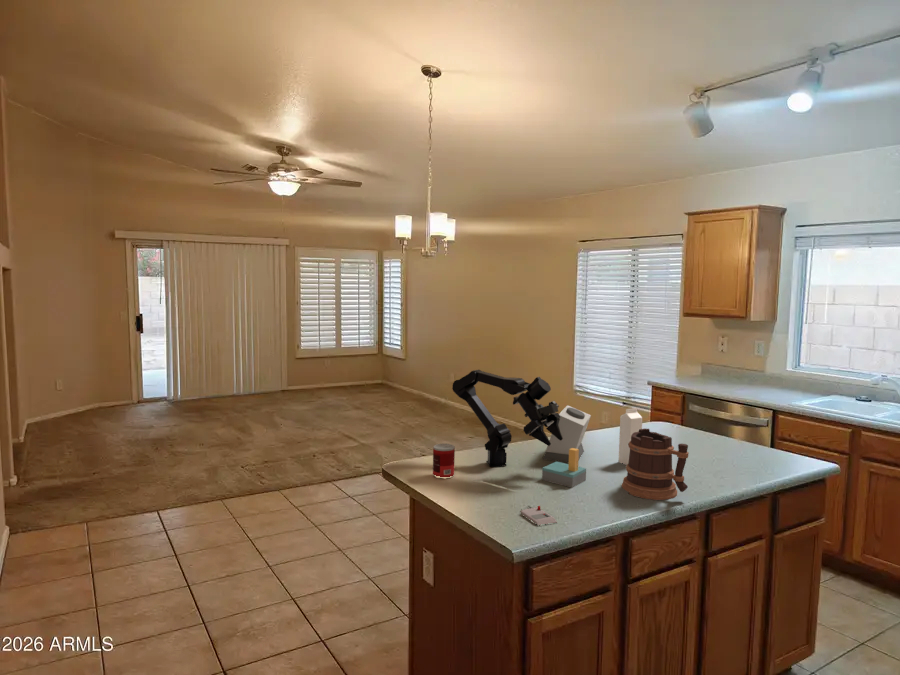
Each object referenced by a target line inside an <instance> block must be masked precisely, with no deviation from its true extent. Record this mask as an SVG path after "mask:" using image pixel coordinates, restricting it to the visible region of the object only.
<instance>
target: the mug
mask: <svg viewBox="0 0 900 675" xmlns="http://www.w3.org/2000/svg"><path fill="white" fill-rule="evenodd" d="M628 446H629V448H630V453H629V463H628V464H627V465H625V470H626V471H627V474H626V476H624V477H623V480H622V483H621V487H622V489H623V490H624V491H626V492H627V493H628V495H630V496H634V497H636V498H641V499H647V500H657V501H659V500H660V501H661V500H670V499H674V498H676V497H677V496H678V490H679V492H681V493H683V492H684V491H686V490H687V489H688V485H687V484H686V483H685V482H684V481H685V476H684V475H683V474H684V473H683V472H684V469H685V466H686V463H687V459H688V458H689V454H690V453H689V451H688V450H689V449H688V448H689V445H688V444H686V443H678V445H677V448H678V450H676V449H675V447H674V446H673V437H671V436H668V435H666V434H662V433H659V432H656V431H655V432H654V431H651V430H650V428H642V429H639V432H634V433H633V434H632V435H631V441H630V442H629V443H628ZM673 455H675V456H676V457H677V460H676V461H677V462H676V466H675V470H674V469H673ZM677 488H678V490H677Z"/></svg>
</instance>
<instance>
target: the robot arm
mask: <svg viewBox="0 0 900 675" xmlns="http://www.w3.org/2000/svg"><path fill="white" fill-rule="evenodd" d="M478 383H483V384H486V385H489V386H492V387H496V388H500V389H501V390H502V391H503V392H505V393H507V394H509V395H511V396H513V401H512V405H519V406H520V407H521V408H522V410H523V411H524V417H525V418H528V419H529V420H530V421H529V422H528V423H527V424H525V425H524V427H523V432H524V433H525V435H526V436H527V435H528V436H529V437H532V438H534V439H536V440H538V441H540V442H541V443H543V444H545V445H546V446H550V445H551V443H550V441H549V440H550V438H548V436H547V434H546V432H545V430H544V427H545V428H546V430H547V431H548V432H549V433H550V434H553V435H554V436H555V437H556V438H558V439H559V440H560V441H561V440H562V439H563V438H562V435H561V432H560V429H559V425H558V424H559V421H560V419H559V418H560V415H559V414H560V413H559V407H560V405H559V404H558V403H557V402H556V401H555V400H553V401H550V402H548V405H546V406H544V405H543V404H542V403H540V404H539V403H538V402H537V401H540V400H541V399H542V398H544V396H546V395H547V394H548V393H550V391H551V390H552V389H551V386H550V383H548V382H547V381H546V380H545V379H543V378H542V377H540V376H537V377H535V378H534V379H533V381H532V382H531V383H530V382H527V381H525V379H523V378H522V377H504V376H501V375H497V374H494V373H490V372H486V371H484V370H481V369H474V370H471V371H470V372H469V373H468V374H466V375H464V376H463V377H461V378H459V379H456V380H454V381H453V383H452V388H451V390H452V392H454V394H455V395H456V396H457V397H458V398H460V399H462V400H464V401H465V402H466V403H467V404H468V406H469V407H470V408H471V410H472V411H473V413H474V414H475V416H476V417H477V418H478V420H479V421H480V422H481V424H482V425H483V427H484V428H485V429H486V433H487V438H488V441H487V442H486V443H484V449H485V450H486V451H487V460H485V462H486V464H488V466H489V467H490V468H494V467H495V468H496V467H507V456H508V455H507V452H506V448H508V447H509V444H511V442H512V433H511V430H510V429H509V428H508V427H507V425H506V424H505V423H501V424H500V423H498V422H497V420H496V419H495V418H494V417H493V415H492V414H491V412H490V411H489V410H488V408H487V407H486V406H485V404H484V403H483V401H482V400H481V399H480V398H479V396H478V395H477V393H476V392H477V391H476V387H475V386H476V385H477V384H478ZM514 395H518V396H514Z"/></svg>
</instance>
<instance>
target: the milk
mask: <svg viewBox="0 0 900 675" xmlns="http://www.w3.org/2000/svg"><path fill="white" fill-rule="evenodd" d="M619 418H620V419H619V438H618V439H619V442H618V443H619V444H618V461H617V462H618V463H619V464H620V463H621V464H622V463H623V464H622V465H625V466H627V464H628V463H629V453H630V448H629V446H628V443H629V442H630V441H631V435H632V434H633V433H634V432H639V429H643V416H642V415H641V414H640V413H639V412H638V408H637V407H635V408H626V409H625V413H623V414H621V415H620V417H619Z"/></svg>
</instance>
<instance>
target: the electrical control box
mask: <svg viewBox="0 0 900 675" xmlns="http://www.w3.org/2000/svg"><path fill="white" fill-rule="evenodd" d="M521 514H522V515H524V516H525V517H527V518H528V519H530V520H532V521H533V522H534V523H536V524H537V525H541V524H548V523H556V524H558V521H557V520H556V518H555V517H554V516H552V515H551V514H549V513H548V512H546V511H544V510H543V509H541V505H538V506H537V507H532V506H530V505H527V508H526V509H522V508H521V509H520V515H521ZM522 515H521V516H522ZM525 517H524V518H525ZM528 519H527V520H528ZM534 523H533V524H534ZM537 525H536V526H537Z"/></svg>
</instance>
